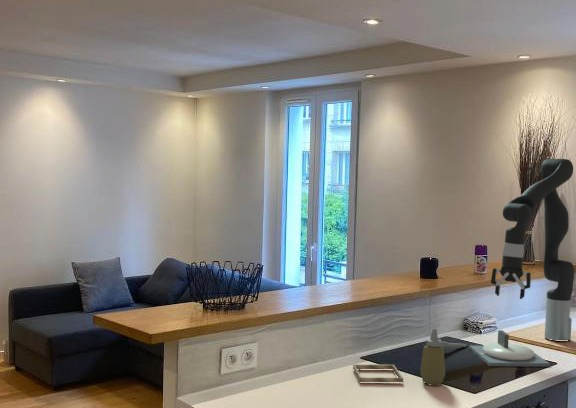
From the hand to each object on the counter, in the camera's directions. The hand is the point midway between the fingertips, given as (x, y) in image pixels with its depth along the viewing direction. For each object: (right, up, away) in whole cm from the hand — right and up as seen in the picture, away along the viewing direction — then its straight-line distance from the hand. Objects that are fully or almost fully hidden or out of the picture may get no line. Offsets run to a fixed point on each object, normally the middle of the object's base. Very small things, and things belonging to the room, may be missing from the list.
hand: (509, 297), depth 253 cm
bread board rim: (-55, -22, -34) cm, 68 cm away
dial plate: (-3, -22, -7) cm, 23 cm away
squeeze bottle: (-38, -23, -39) cm, 59 cm away
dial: (-3, -20, -6) cm, 21 cm away
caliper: (-22, -21, 0) cm, 31 cm away
